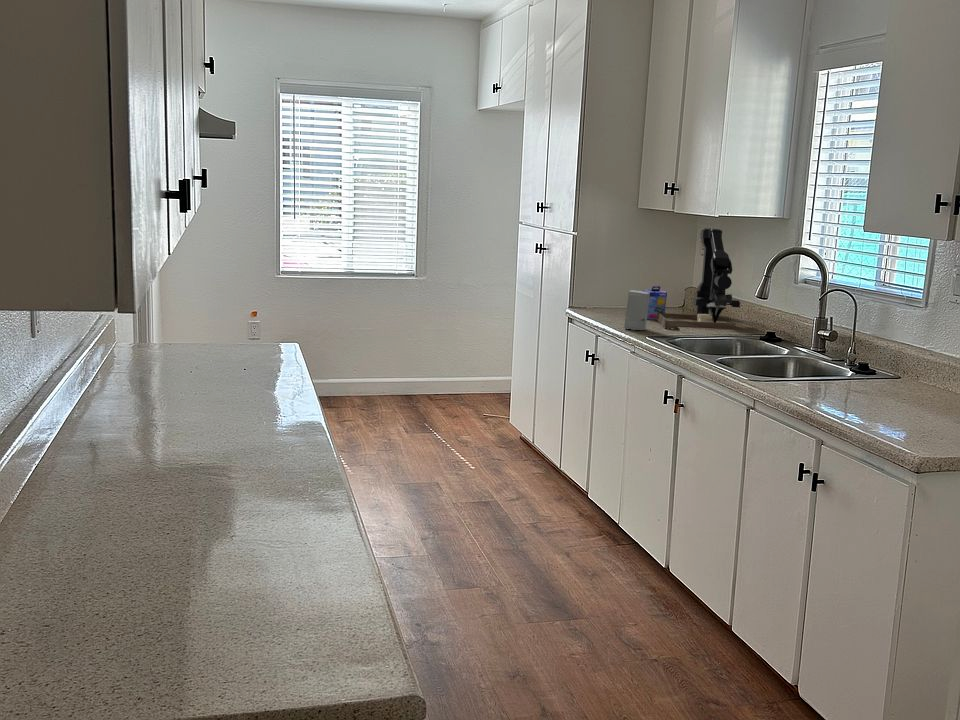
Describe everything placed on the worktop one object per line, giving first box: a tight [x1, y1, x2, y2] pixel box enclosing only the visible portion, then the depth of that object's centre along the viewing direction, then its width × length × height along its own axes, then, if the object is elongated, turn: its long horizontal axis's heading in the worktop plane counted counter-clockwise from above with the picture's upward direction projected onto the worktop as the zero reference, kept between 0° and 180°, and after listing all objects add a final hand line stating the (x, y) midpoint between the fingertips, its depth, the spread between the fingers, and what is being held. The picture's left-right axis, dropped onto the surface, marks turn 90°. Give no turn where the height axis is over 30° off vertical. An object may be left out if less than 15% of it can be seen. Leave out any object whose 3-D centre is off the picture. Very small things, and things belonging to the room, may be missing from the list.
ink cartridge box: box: [642, 285, 668, 320], centre depth 410 cm, size 10×6×14 cm, turn 101°
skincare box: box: [623, 289, 650, 331], centre depth 383 cm, size 8×7×16 cm
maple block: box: [696, 313, 712, 322], centre depth 397 cm, size 5×5×4 cm
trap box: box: [656, 312, 736, 330], centre depth 397 cm, size 18×29×4 cm, turn 90°
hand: (714, 322), depth 397 cm, fingers closed
